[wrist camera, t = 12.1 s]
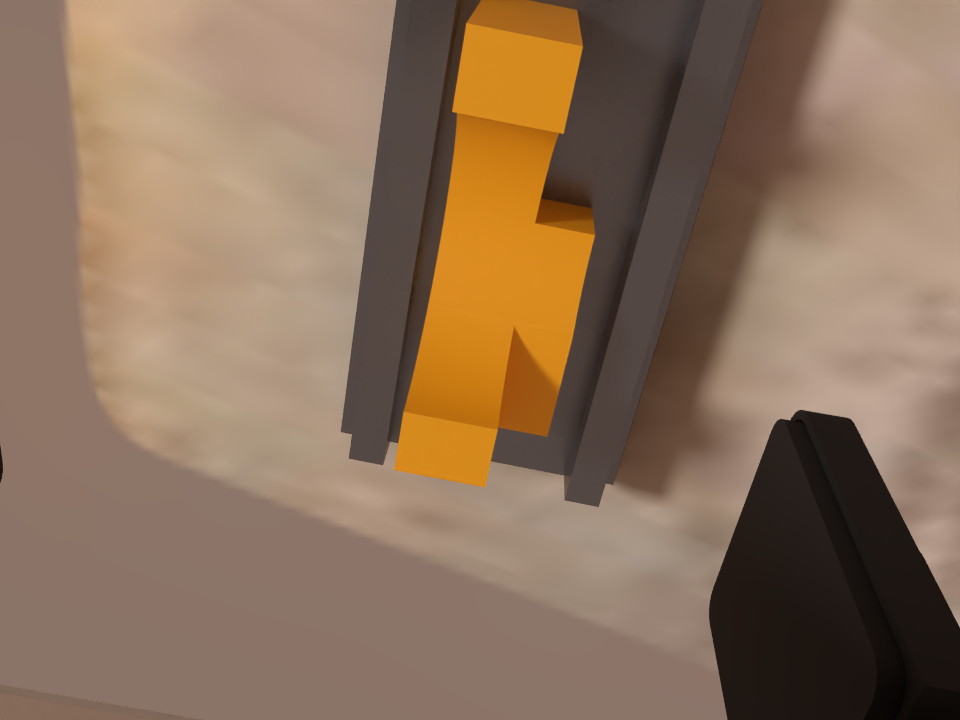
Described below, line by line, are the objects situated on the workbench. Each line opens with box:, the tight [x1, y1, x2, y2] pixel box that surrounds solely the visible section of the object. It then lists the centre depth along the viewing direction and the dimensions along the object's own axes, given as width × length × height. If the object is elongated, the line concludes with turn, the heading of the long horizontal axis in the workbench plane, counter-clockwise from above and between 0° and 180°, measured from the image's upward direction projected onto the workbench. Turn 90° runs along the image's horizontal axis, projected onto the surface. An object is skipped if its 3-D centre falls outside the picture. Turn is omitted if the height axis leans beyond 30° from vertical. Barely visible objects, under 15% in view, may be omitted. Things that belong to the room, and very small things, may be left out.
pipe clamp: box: [394, 0, 595, 487], centre depth 25 cm, size 12×4×6 cm, turn 170°
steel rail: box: [341, 0, 763, 507], centre depth 28 cm, size 10×18×2 cm, turn 170°
